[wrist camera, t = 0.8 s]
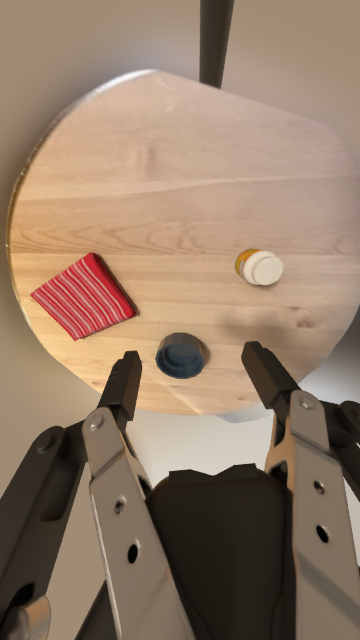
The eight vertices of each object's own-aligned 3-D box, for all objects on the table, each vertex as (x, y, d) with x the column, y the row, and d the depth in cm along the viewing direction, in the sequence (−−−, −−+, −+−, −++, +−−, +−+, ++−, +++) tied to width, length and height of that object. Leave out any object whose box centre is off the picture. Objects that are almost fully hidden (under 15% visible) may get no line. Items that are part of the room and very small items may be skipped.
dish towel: (139, 313, 38) (136, 317, 35) (80, 339, 45) (73, 344, 42) (96, 249, 31) (88, 249, 28) (34, 291, 38) (24, 294, 36)
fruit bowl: (151, 341, 42) (146, 352, 38) (191, 325, 38) (190, 336, 33) (173, 370, 47) (171, 383, 43) (210, 358, 43) (212, 371, 38)
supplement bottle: (264, 247, 27) (294, 249, 19) (259, 275, 30) (283, 288, 21) (235, 249, 28) (252, 253, 20) (233, 277, 31) (246, 290, 22)
